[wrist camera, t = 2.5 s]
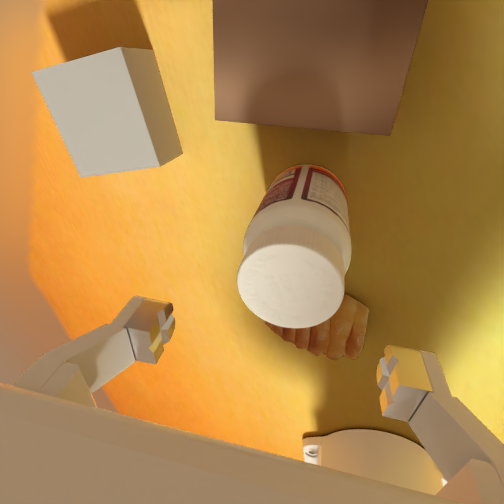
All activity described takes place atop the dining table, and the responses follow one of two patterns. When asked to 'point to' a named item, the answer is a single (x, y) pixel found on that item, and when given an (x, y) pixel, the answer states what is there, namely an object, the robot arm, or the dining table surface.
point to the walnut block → (313, 61)
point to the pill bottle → (297, 249)
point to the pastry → (332, 332)
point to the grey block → (111, 111)
